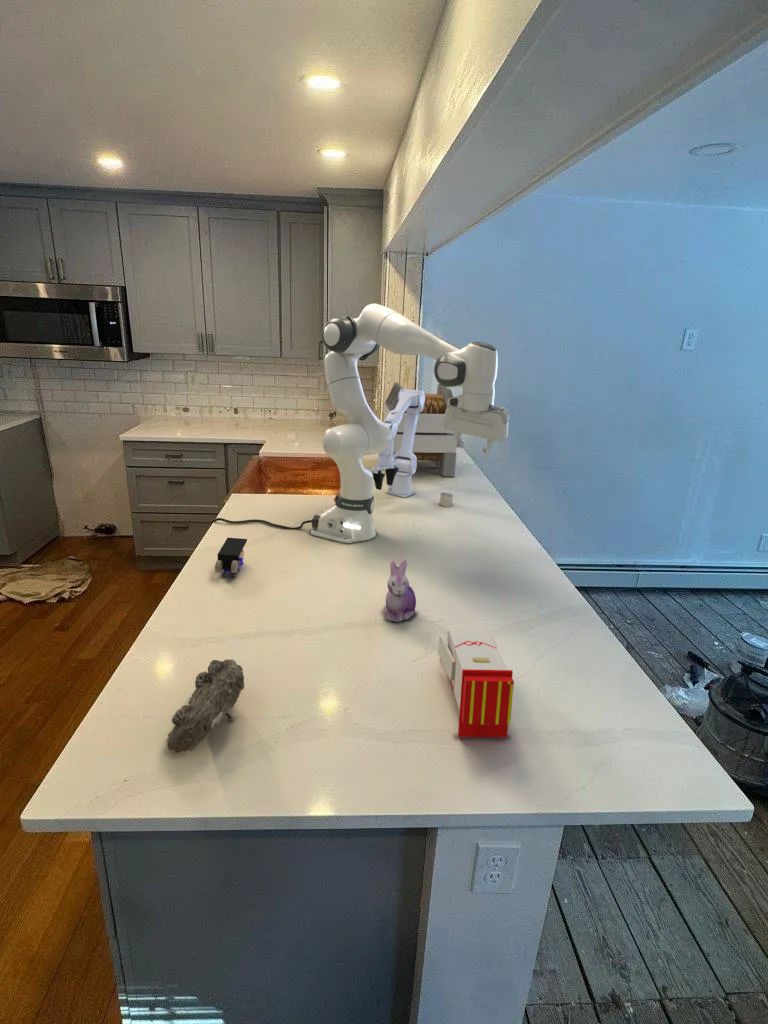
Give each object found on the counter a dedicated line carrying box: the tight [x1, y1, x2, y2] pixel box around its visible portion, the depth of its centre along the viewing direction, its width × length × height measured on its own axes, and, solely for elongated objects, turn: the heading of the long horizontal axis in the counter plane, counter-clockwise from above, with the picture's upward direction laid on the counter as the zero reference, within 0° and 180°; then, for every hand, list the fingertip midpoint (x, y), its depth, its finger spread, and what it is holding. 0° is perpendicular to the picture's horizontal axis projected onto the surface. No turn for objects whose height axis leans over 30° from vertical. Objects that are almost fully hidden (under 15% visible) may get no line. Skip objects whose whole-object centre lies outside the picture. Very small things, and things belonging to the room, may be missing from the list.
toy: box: [437, 628, 515, 738], centre depth 117 cm, size 12×13×30 cm
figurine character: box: [214, 537, 248, 578], centre depth 166 cm, size 7×8×15 cm
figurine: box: [384, 558, 417, 623], centre depth 145 cm, size 9×10×15 cm
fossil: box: [166, 658, 245, 754], centre depth 106 cm, size 22×10×15 cm
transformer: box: [383, 382, 457, 478], centre depth 277 cm, size 34×33×41 cm
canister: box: [439, 492, 454, 508], centre depth 232 cm, size 5×5×4 cm
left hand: (472, 450), depth 163 cm, fingers open, 8 cm apart
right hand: (384, 487), depth 224 cm, fingers open, 7 cm apart
